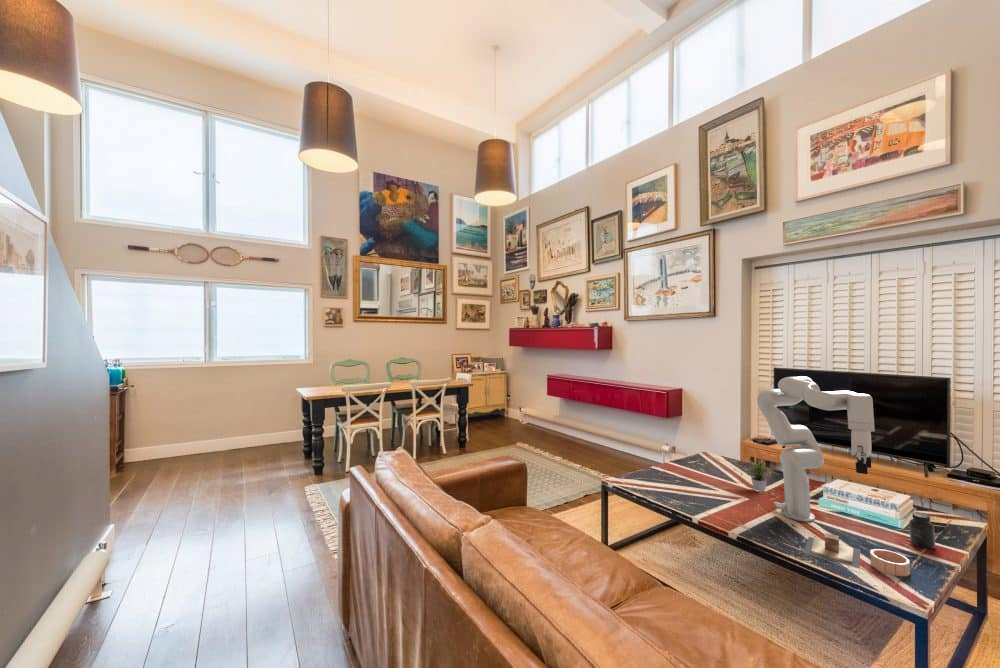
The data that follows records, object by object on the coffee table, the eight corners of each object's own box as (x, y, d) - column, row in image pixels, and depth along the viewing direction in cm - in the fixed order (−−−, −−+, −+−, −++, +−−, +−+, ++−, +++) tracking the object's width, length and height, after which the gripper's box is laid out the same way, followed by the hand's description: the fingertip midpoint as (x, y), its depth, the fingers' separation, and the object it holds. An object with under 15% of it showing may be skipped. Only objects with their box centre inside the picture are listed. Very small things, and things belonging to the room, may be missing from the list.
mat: (804, 555, 154) (804, 553, 154) (808, 539, 165) (808, 536, 165) (859, 571, 143) (859, 568, 143) (860, 552, 154) (860, 549, 154)
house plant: (747, 482, 227) (745, 454, 227) (776, 488, 218) (774, 458, 218) (740, 490, 217) (739, 460, 217) (771, 496, 207) (769, 465, 207)
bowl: (871, 571, 142) (870, 557, 142) (871, 559, 149) (870, 546, 149) (911, 582, 135) (910, 568, 135) (909, 569, 143) (908, 555, 143)
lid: (811, 552, 154) (810, 537, 154) (814, 540, 162) (813, 525, 162) (852, 563, 145) (851, 548, 146) (853, 549, 154) (852, 535, 154)
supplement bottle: (940, 550, 153) (939, 519, 153) (920, 549, 155) (918, 518, 155) (925, 540, 160) (923, 511, 160) (905, 540, 161) (903, 510, 161)
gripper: (852, 420, 162) (854, 462, 162) (844, 428, 151) (847, 473, 150) (877, 423, 156) (880, 466, 156) (871, 431, 145) (873, 478, 145)
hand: (863, 470), depth 153 cm, fingers open, 9 cm apart
